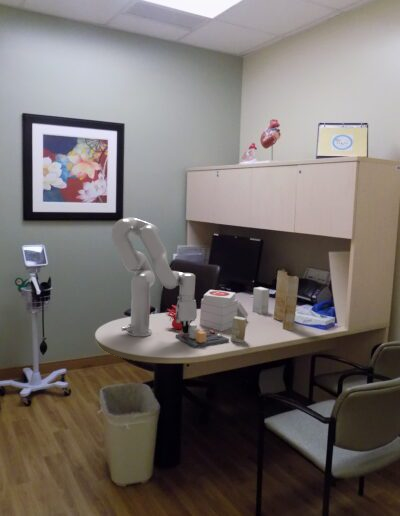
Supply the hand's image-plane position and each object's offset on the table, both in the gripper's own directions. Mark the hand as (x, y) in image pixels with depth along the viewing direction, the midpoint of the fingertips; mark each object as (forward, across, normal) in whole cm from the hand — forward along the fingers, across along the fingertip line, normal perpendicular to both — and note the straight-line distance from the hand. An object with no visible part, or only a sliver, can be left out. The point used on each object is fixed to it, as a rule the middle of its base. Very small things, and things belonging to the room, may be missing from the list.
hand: (184, 332), depth 241 cm
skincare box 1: (+3, +23, -14) cm, 27 cm away
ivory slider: (+1, +4, 0) cm, 4 cm away
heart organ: (+3, +4, +14) cm, 15 cm away
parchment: (+4, +67, -2) cm, 67 cm away
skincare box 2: (+3, +70, +23) cm, 74 cm away
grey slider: (+1, +2, -6) cm, 6 cm away
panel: (+3, +7, -6) cm, 9 cm away
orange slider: (+1, +2, -12) cm, 12 cm away
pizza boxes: (+3, +34, +14) cm, 37 cm away
